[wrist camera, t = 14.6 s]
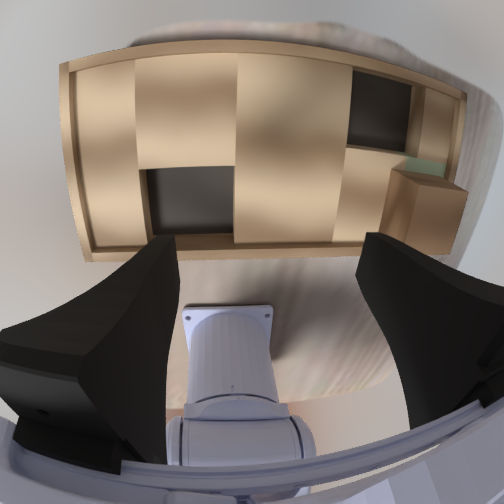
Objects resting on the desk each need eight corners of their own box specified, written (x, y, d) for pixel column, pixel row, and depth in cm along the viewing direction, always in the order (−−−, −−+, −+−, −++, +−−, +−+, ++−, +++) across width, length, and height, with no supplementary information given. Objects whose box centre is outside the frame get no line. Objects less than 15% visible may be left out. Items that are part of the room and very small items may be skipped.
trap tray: (418, 239, 24) (433, 253, 21) (97, 244, 21) (85, 262, 18) (446, 90, 17) (467, 93, 14) (77, 66, 14) (59, 64, 11)
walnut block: (425, 232, 21) (449, 254, 18) (378, 232, 20) (400, 256, 17) (439, 176, 18) (468, 192, 15) (391, 168, 18) (419, 185, 15)
